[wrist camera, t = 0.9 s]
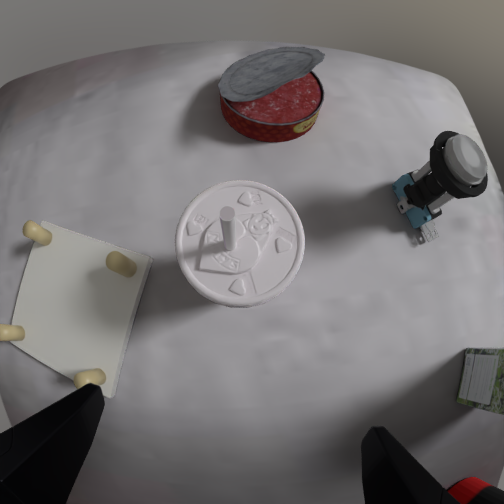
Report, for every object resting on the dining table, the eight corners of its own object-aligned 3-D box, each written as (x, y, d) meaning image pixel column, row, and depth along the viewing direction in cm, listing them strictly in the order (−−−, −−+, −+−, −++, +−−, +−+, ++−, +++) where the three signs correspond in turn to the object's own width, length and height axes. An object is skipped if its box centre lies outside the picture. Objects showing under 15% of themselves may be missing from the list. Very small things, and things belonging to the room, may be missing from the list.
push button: (444, 232, 26) (511, 196, 16) (407, 253, 25) (479, 217, 15) (414, 174, 27) (469, 120, 17) (375, 188, 26) (429, 129, 16)
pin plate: (114, 395, 21) (94, 407, 17) (14, 340, 21) (-12, 340, 17) (153, 259, 24) (137, 247, 20) (47, 223, 24) (24, 209, 20)
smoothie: (183, 264, 24) (118, 190, 10) (247, 217, 25) (257, 103, 11) (231, 330, 23) (220, 340, 9) (296, 279, 24) (367, 223, 10)
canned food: (251, 166, 31) (199, 134, 22) (232, 93, 32) (185, 50, 23) (354, 132, 27) (340, 79, 18) (322, 58, 28) (296, 0, 19)
